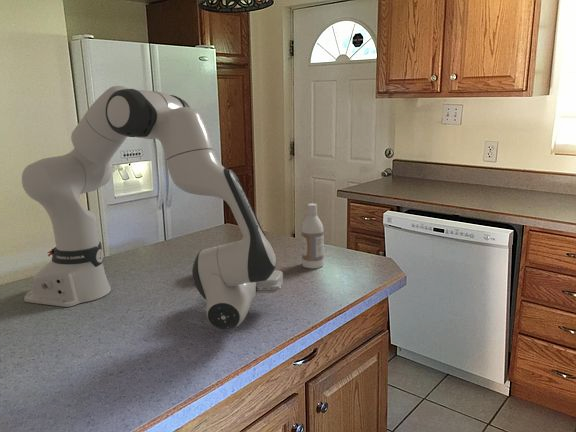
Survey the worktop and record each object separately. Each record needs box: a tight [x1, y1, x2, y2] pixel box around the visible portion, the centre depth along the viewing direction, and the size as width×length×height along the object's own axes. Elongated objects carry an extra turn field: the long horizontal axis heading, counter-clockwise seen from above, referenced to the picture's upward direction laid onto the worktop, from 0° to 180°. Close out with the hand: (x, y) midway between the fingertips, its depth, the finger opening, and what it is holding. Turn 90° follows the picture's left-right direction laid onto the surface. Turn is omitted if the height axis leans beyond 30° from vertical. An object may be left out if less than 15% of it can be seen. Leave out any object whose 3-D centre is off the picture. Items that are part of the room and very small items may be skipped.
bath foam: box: [301, 202, 325, 270], centre depth 156 cm, size 7×7×20 cm
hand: (248, 269), depth 134 cm, fingers open, 8 cm apart
